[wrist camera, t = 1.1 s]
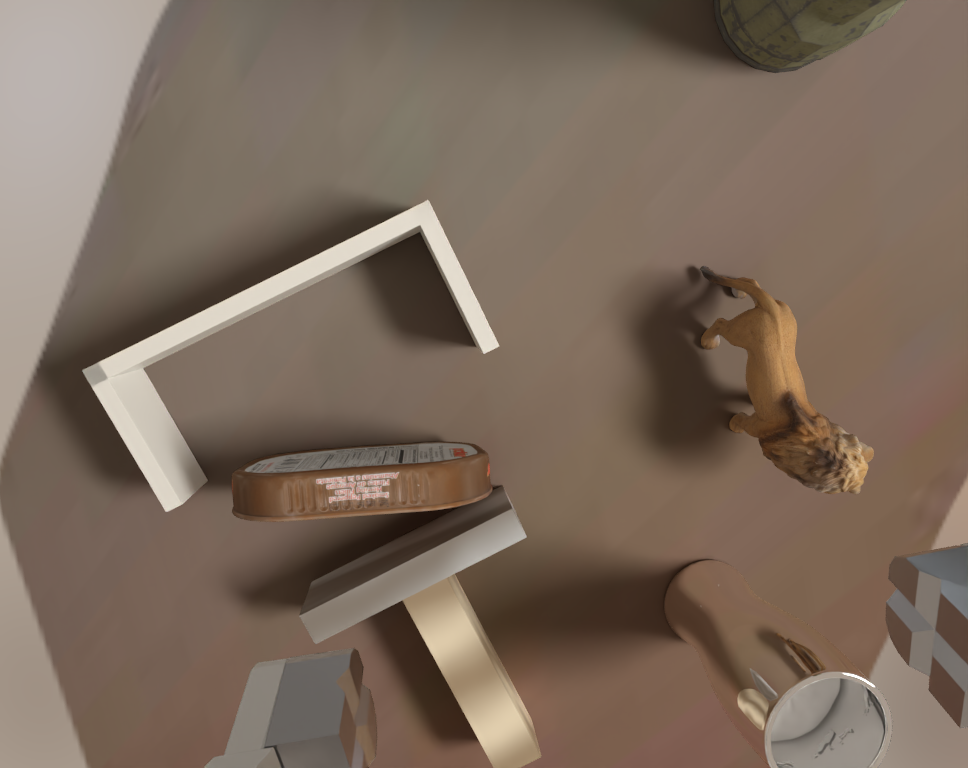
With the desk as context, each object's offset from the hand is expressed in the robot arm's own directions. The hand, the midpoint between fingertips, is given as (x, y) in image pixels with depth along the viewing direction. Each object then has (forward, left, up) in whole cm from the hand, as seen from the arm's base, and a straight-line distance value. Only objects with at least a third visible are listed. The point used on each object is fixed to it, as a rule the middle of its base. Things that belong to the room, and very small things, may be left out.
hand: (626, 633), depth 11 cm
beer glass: (-22, -8, -35) cm, 42 cm away
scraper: (-16, +8, -35) cm, 40 cm away
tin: (-2, +8, -36) cm, 37 cm away
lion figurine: (-9, -17, -36) cm, 40 cm away
